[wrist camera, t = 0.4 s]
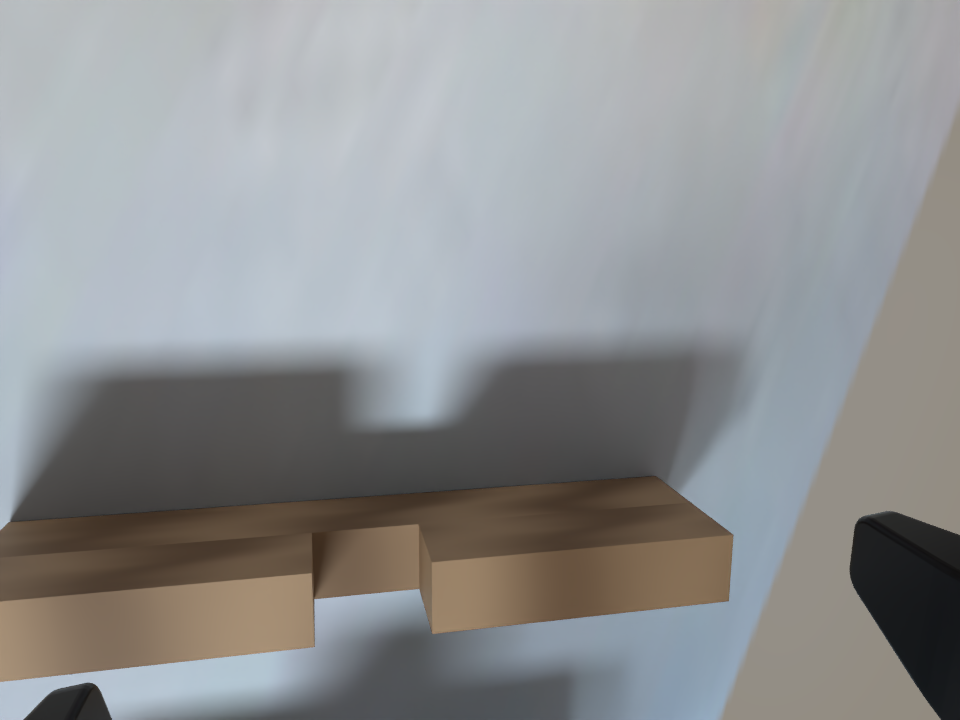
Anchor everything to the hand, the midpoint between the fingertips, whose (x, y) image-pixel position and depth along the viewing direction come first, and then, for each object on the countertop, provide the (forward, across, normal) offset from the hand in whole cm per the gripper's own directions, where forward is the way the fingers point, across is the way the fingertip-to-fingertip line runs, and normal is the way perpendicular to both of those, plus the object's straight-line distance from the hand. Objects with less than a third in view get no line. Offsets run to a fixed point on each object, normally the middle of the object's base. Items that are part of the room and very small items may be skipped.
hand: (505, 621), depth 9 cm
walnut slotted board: (+14, +2, +8) cm, 16 cm away
